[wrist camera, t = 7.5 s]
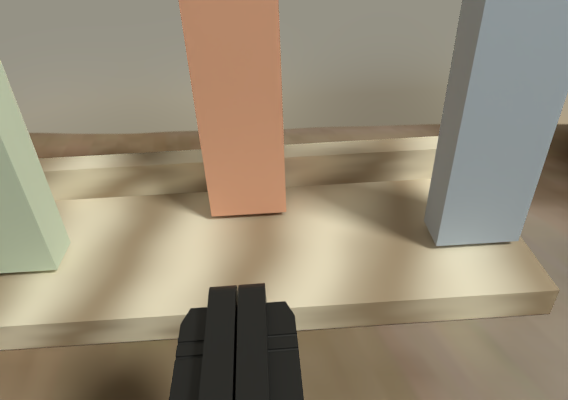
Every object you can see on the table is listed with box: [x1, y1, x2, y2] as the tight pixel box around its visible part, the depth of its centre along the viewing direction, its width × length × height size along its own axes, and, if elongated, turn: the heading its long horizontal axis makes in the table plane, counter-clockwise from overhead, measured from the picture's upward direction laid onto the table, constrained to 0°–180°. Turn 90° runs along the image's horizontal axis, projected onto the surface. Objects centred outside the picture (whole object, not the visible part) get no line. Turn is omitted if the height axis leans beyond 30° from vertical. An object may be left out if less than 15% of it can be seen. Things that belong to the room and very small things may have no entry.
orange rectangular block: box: [179, 0, 286, 216], centre depth 23 cm, size 4×2×12 cm, turn 93°
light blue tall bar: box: [424, 0, 568, 246], centre depth 20 cm, size 4×2×12 cm, turn 93°
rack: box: [0, 136, 560, 350], centre depth 25 cm, size 27×12×4 cm, turn 93°
